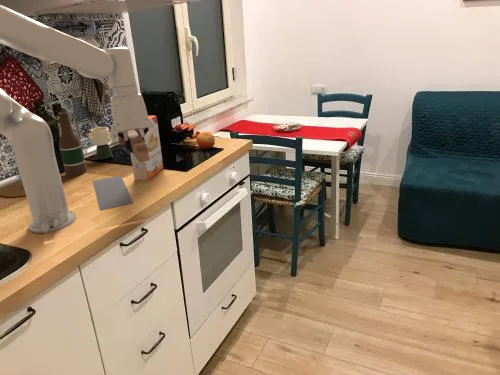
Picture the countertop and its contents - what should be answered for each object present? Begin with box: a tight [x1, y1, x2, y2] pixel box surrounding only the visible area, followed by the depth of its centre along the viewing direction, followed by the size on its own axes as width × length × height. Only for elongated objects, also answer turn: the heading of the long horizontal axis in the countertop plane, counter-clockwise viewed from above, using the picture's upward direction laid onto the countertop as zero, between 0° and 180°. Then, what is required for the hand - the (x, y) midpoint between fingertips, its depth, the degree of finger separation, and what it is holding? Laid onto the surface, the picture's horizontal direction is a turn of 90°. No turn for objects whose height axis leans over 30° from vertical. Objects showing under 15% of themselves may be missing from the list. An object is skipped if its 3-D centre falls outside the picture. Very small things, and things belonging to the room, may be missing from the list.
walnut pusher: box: [117, 129, 149, 162], centre depth 129 cm, size 25×7×5 cm, turn 24°
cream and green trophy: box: [87, 126, 114, 160], centre depth 175 cm, size 11×7×13 cm, turn 81°
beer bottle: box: [57, 111, 88, 177], centre depth 156 cm, size 8×8×24 cm
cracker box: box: [129, 115, 164, 181], centre depth 150 cm, size 14×6×21 cm, turn 169°
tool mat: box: [92, 175, 135, 212], centre depth 139 cm, size 30×10×1 cm, turn 24°
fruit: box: [195, 131, 216, 150], centre depth 182 cm, size 8×8×8 cm
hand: (136, 150), depth 129 cm, fingers closed on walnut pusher, 3 cm apart
